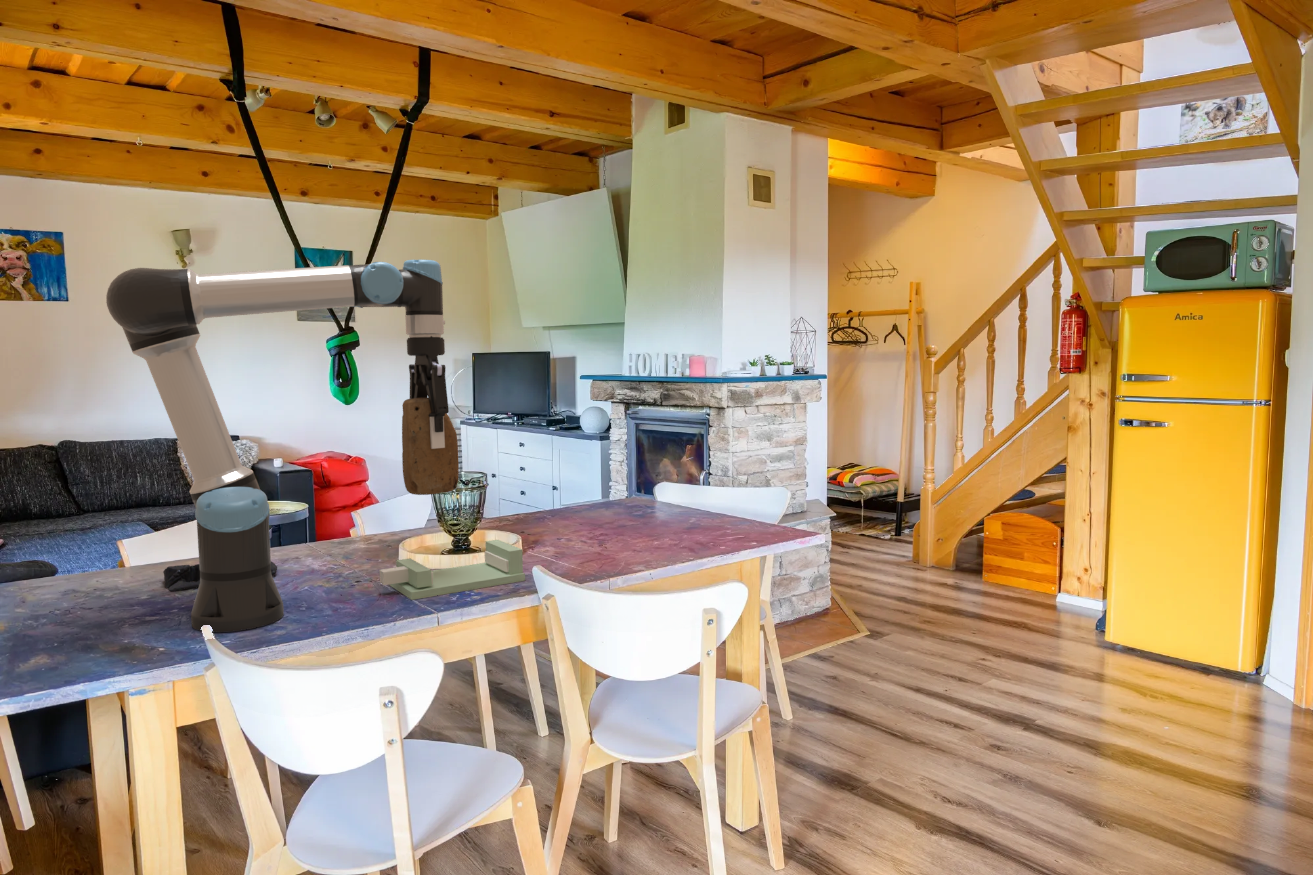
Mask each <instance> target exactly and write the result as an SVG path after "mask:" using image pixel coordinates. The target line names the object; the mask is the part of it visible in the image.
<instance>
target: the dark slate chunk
mask: <svg viewBox="0 0 1313 875" xmlns="http://www.w3.org/2000/svg"><path fill="white" fill-rule="evenodd" d="M277 571H278V566H277V564H276V563H275V562H273V561H271V574H272V575H274V574H276V572H277ZM162 573H163V576H164V577H163V579H164V587H165V588H166V589H167V590H169V591H171V592H179V591H180V592H181V591H183V590H184V591H185V590H192V589H198V588H199V585H200V568H199V563H198V564H197V563H196V564H195V565H190V564H181V565H171V566H167V567H166V568H165V569H164V570H163V572H162Z"/></svg>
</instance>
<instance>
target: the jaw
mask: <svg viewBox="0 0 1313 875" xmlns="http://www.w3.org/2000/svg"><path fill="white" fill-rule="evenodd" d="M395 563H396V564H395V565H396V566H395V567H390V568H389V567H388V568H383V569H379V583H380V584H381V585H383V586H390V584H396V583H402V582H408V583H410V584H411V585H413V586H415V587H416V588H421V587H427V586H432V584H433V572H431V571H432V569H430V568H428V567H427V566H426V565H424V564H421V563H420V562H418V561H416V560H414V559H412V558H410V557H409V558H403V559H396V562H395Z"/></svg>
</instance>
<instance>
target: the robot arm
mask: <svg viewBox="0 0 1313 875" xmlns="http://www.w3.org/2000/svg"><path fill="white" fill-rule="evenodd" d="M105 296H106V302H105V303H106V307H107V310H108V312H109V314H110V315H111V317H112V319H113V320H114V321H115V323H117V324H118V325H119V326H120V327H121V328H122V330H123V332H124V334H125V337H126V340H127V342H128V344H129V347H130V349H131V351H132V353H133V355H136V356H137V357H140V358H142V359H144V360H145V362H146V364H147V367H148V369H149V372H150V374H151V377H152V379H153V382H154V383H155V386H156V389H157V391H158V394H159V396H160V399H161V402H162V404H163V406H164V410H165V412H166V414H167V417H168V418H169V421H170V423H171V426H172V428H173V431H174V434H175V436H176V438H177V442H178V444H179V446H180V448H181V451H182V453H183V455H184V458H185V461H186V463H187V466H188V468H189V470H190V473H191V475H192V478H193V484H192V486H191V487H190V489H189V495H190V496H191V500H192V502H193V505H194V508H195V511H194V517H195V518H194V519H196V528H197V529H196V530H197V548H198V564H199V568H200V585H199V588H197V592H196V596H195V599H194V602H193V605H192V610H191V611H190V612H191V613H190V618H191V623H190V624H191V627H192V628H193V629H194V630H197V631H200V629H201V627H202V626H203V625H210V626H211V627H212V629H213V631H214V632H213V633H228V632H229V633H230V632H239V631H240V632H241V631H246V629H247V630H252V629H256V627H257V628H261V627H263V626H267V625H270V624H273V623H274V622H276V621H279V620H281V619H282V618H283V617H284V615H285V614H284V612H285V611H284V601H283V599H282V596H281V594H280V592H279V589H278V587H277V584H276V582H275V579H274V577H273V574H271V559H272V558H271V541H270V517H271V516H270V504H269V502H268V496H267V495H266V493H265V492H264V491H262V490H261V489H260V486H259V483H258V480H257V477H256V476H255V472H254V471H253V470H252V469H250V468H248V467H246V466H244V465H243V464H242V462H241V461H240V457H239V455H238V452H237V450H236V447H235V444H234V442H233V440H232V438H231V435H230V433H229V432H230V431H229V429H228V427H227V425H226V422H225V420H224V417H223V414H222V411H221V409H220V407H219V404H218V401H217V399H216V396H215V393H214V391H213V389H212V386H211V383H210V381H209V378H208V375H207V373H206V370H205V369H204V368H205V367H204V364H203V363H202V360H201V358H200V355H199V353H198V350H197V347H196V346H197V343H198V340H199V339H200V337H201V333H200V331H199V329H198V326H197V325H200V324H201V323H202V322H203V320H204V319H210V318H222V317H232V316H233V317H235V316H248V315H249V316H250V315H259V314H270V313H271V314H274V313H283V312H285V313H287V312H298V311H308V310H309V311H312V310H322V309H323V310H325V309H333V308H346V307H351V308H354V307H355V308H360V309H364V308H392V307H393V308H404V309H405V334H406V335H407V336H409V337H408V338H407V339H406V353H407V355H408V356H410V357H415V359H414V364H409V365H408V370H409V399H414V398H428V399H429V404H430V409H431V413H430V414H429V415H428V416H429V417H430V438H431V449H435V448H445V438H444V416H445V413H447V414H448V413H449V401H448V391H447V382H446V365H445V364H439V359H438V357H439V356H443V355H445V352H446V351H445V350H446V349H445V347H446V346H445V339H444V337H442V335H444V332H445V331H444V330H445V329H444V328H445V327H444V325H445V324H446V320H444V306H443V305H444V304H443V303H444V299H443V278H442V269H441V265H440V263H439V262H438V261H437V260H433V259H407V260H405V261H404V262H403V266H402V269H398V268H397V267H396V266H395V265H393V264H391V263H389V262H386V261H373V262H372V263H369V264H368V263H367V264H366V263H365V264H354V265H353V264H352V265H348V264H346V265H345V264H344V265H331V266H315V267H314V266H313V267H297V268H296V267H295V268H281V269H265V270H262V269H261V270H249V271H247V270H246V271H231V272H230V271H229V272H213V273H212V272H211V273H197V272H195V271H194V270H193V269H191V268H180V269H177V268H175V269H174V268H173V269H172V268H171V269H170V268H169V269H168V268H167V269H165V268H149V267H137V268H130V269H128V270H125V271H123V272H121V273H119V274H118V275H117V276H116V277H115V278H114V279H113V280H112V281H111V282H110V284H109V285H108V288H107V292H106V295H105Z"/></svg>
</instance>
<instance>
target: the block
mask: <svg viewBox="0 0 1313 875" xmlns="http://www.w3.org/2000/svg"><path fill="white" fill-rule="evenodd" d="M430 413H431V409H430V404H429V399H428V397H427V398H414V399H410V398H407V399H405V400H404V401H403V402H402V416H401V418H402V420H401V443H402V446H401V447H402V452H401V453H402V454H401V458H402V460H401V461H402V462H401V463H402V476H403V484H404V487H405V489H406V491H407V492H408V494H411V495H417V496H428V495H437V494H438V495H439V494H442V493H448V492H449V493H450V492H452V491H454V490H457V487H458V482H459V470H460V467H459V461H460V460H459V445H458V435H457V431H456V428H455V427H454V425H453V423H452V420H451V418H450V416H449V415H448V413H445V416H444V438H445V448H435V449H431V438H430V417H429V416H428V415H429V414H430Z"/></svg>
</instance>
